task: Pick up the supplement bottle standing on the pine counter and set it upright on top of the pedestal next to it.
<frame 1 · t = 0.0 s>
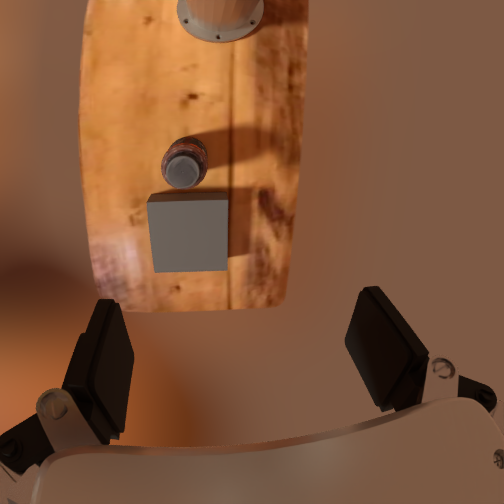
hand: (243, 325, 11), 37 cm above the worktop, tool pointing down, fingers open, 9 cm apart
supplement bottle: (187, 155, 42), on the worktop
pedestal: (189, 227, 48), on the worktop
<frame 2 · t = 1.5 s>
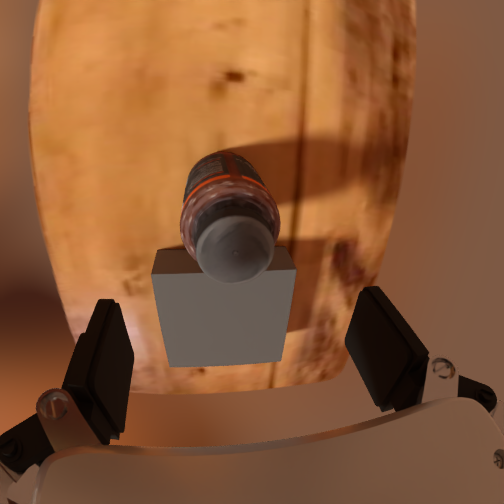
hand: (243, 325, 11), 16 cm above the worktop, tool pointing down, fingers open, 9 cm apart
supplement bottle: (222, 184, 24), on the worktop
pedestal: (222, 299, 30), on the worktop
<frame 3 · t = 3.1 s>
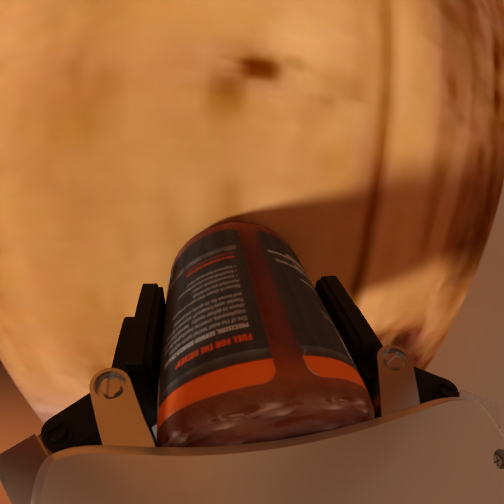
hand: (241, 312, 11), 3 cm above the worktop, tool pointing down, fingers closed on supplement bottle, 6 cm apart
supplement bottle: (234, 274, 14), on the worktop, touching gripper
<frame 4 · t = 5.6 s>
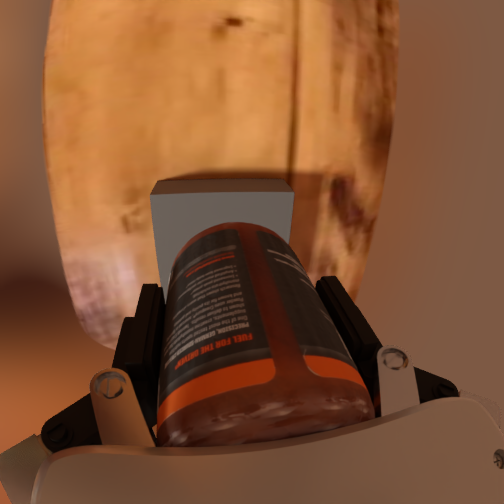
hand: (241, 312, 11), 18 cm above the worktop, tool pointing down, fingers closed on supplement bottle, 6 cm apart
supplement bottle: (234, 274, 14), point 15 cm above the worktop, touching gripper
pedestal: (220, 235, 30), on the worktop
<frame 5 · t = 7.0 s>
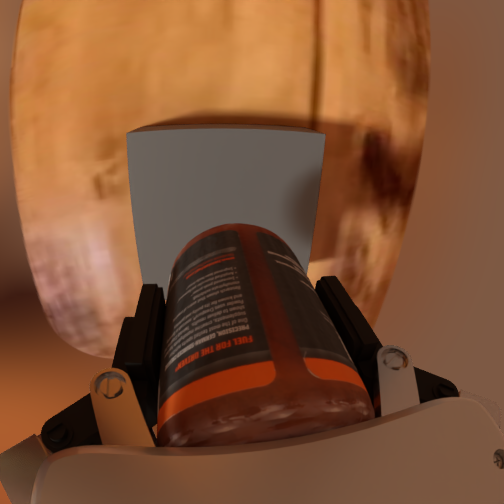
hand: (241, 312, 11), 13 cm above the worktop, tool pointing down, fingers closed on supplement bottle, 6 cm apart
supplement bottle: (234, 275, 14), point 10 cm above the worktop, touching gripper
pedestal: (222, 202, 22), on the worktop
when the fingers open (8 cm above the worktop, at t = 8.2 s): supplement bottle drops 1 cm, resting on pedestal.
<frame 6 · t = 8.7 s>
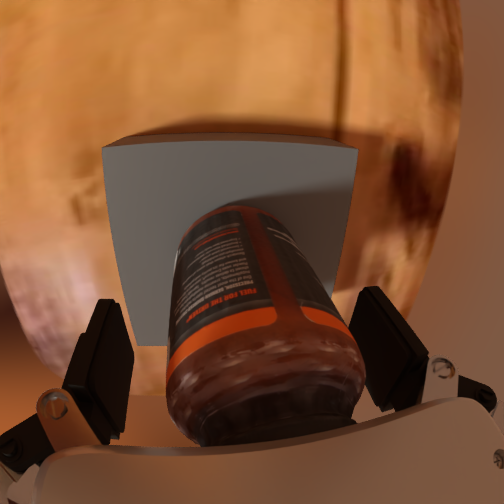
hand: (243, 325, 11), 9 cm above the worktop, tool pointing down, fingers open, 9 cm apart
supplement bottle: (234, 255, 15), point 4 cm above the worktop, touching pedestal
pedestal: (226, 228, 18), on the worktop
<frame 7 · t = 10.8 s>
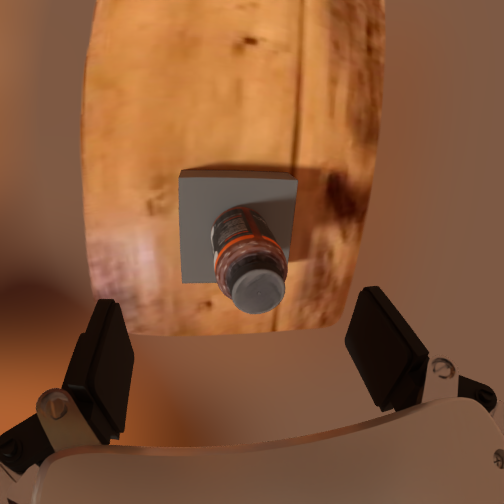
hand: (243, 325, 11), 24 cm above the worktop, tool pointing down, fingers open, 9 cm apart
supplement bottle: (238, 231, 31), point 4 cm above the worktop, touching pedestal
pedestal: (233, 220, 35), on the worktop
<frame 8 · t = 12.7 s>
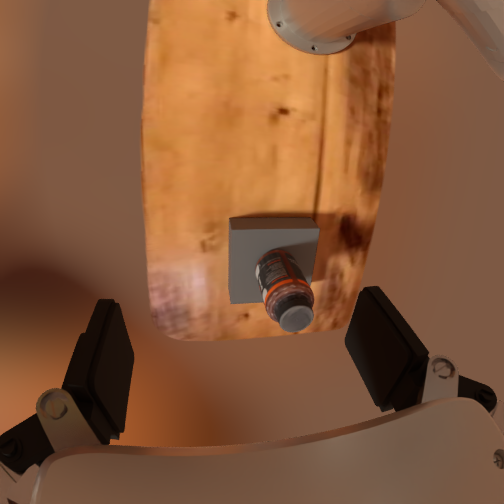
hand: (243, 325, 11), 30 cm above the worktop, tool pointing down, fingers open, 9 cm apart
supplement bottle: (274, 266, 42), point 4 cm above the worktop, touching pedestal
pedestal: (268, 254, 45), on the worktop
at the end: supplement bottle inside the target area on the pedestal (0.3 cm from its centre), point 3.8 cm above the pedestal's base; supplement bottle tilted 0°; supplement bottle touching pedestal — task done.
